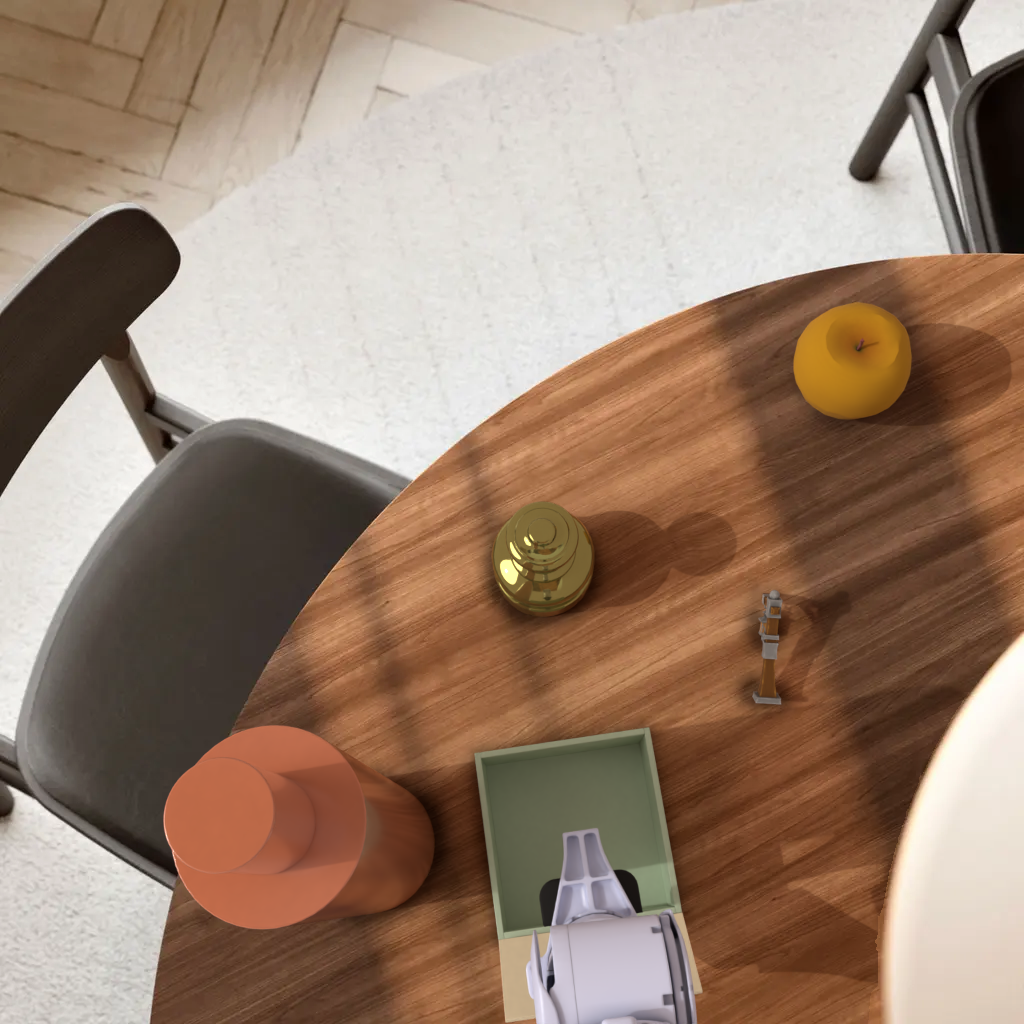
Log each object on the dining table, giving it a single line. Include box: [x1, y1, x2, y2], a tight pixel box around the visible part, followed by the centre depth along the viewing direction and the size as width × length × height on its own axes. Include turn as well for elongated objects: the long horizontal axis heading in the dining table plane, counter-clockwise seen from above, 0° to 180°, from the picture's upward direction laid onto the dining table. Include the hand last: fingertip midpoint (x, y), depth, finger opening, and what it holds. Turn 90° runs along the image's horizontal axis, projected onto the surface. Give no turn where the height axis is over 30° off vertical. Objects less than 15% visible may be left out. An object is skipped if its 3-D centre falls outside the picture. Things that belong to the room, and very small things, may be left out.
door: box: [498, 912, 704, 1024], centre depth 70 cm, size 6×12×1 cm
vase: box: [163, 724, 436, 930], centre depth 63 cm, size 9×9×38 cm
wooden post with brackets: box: [751, 589, 783, 705], centre depth 83 cm, size 2×8×4 cm, turn 176°
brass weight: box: [491, 500, 596, 618], centre depth 82 cm, size 7×7×10 cm
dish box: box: [473, 726, 683, 941], centre depth 78 cm, size 12×12×6 cm
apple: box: [793, 301, 913, 420], centre depth 86 cm, size 8×8×9 cm
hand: (596, 960), depth 70 cm, fingers open, 5 cm apart
